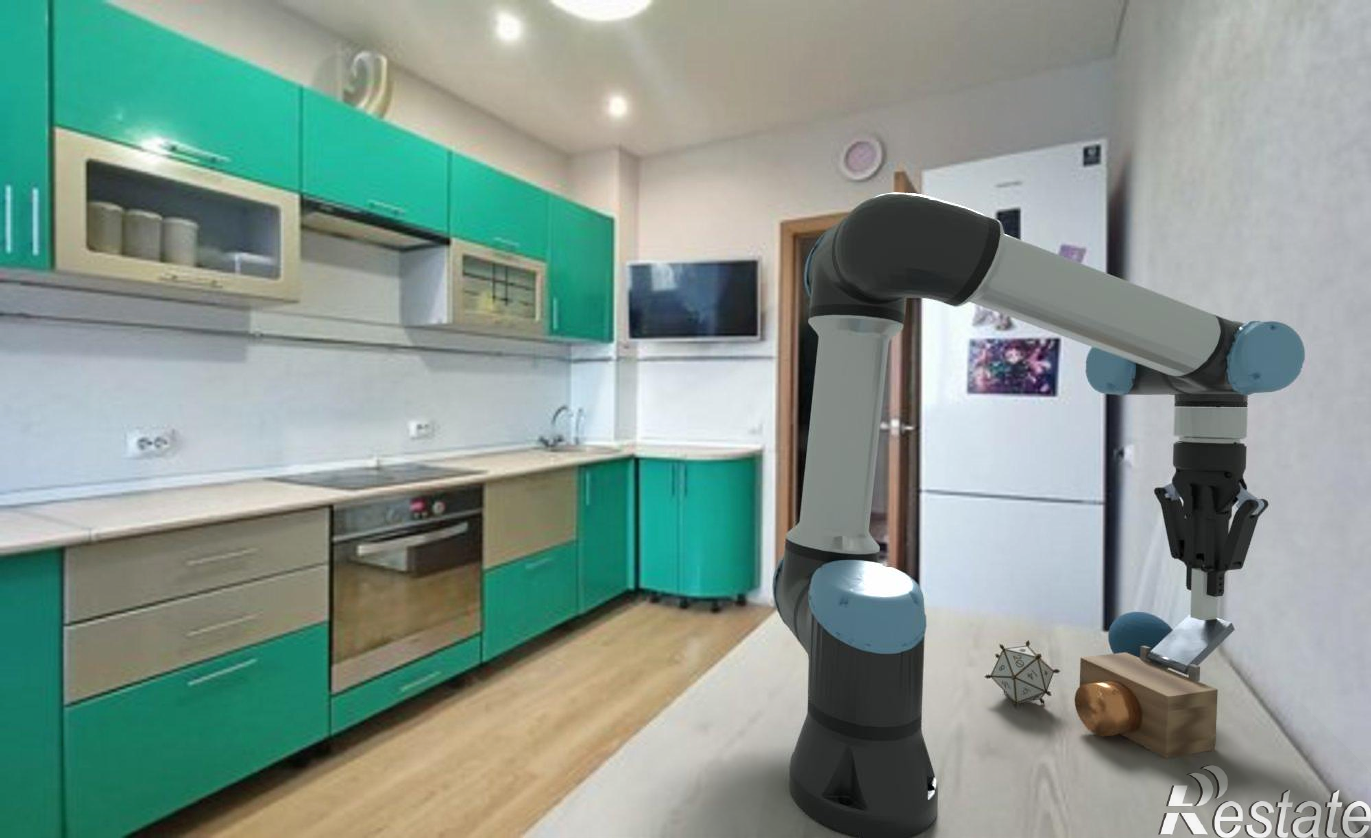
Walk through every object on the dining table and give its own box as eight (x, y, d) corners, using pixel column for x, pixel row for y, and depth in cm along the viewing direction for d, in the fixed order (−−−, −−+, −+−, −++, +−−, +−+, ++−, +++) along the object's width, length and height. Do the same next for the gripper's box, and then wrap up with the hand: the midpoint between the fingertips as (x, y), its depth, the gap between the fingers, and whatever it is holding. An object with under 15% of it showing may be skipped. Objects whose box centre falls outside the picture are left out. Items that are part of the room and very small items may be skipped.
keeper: (1186, 676, 82) (1182, 669, 82) (1149, 661, 87) (1146, 654, 87) (1234, 629, 84) (1231, 622, 84) (1196, 617, 89) (1193, 610, 89)
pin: (1116, 745, 79) (1117, 696, 78) (1073, 721, 84) (1075, 676, 84) (1212, 729, 83) (1214, 682, 83) (1166, 707, 89) (1168, 664, 89)
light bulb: (1096, 680, 99) (1099, 602, 98) (1158, 686, 97) (1161, 606, 97) (1121, 705, 90) (1124, 620, 90) (1189, 712, 89) (1193, 625, 88)
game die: (1035, 733, 90) (1076, 695, 84) (974, 705, 91) (1010, 666, 85) (1031, 680, 97) (1069, 641, 91) (975, 654, 98) (1008, 615, 92)
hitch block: (1165, 758, 77) (1168, 681, 77) (1078, 711, 88) (1081, 644, 88) (1217, 748, 79) (1220, 674, 79) (1126, 704, 91) (1128, 639, 90)
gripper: (1287, 443, 80) (1280, 632, 81) (1180, 437, 93) (1175, 600, 93) (1243, 444, 78) (1237, 637, 79) (1140, 437, 91) (1135, 605, 91)
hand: (1203, 617), depth 86 cm, fingers closed
